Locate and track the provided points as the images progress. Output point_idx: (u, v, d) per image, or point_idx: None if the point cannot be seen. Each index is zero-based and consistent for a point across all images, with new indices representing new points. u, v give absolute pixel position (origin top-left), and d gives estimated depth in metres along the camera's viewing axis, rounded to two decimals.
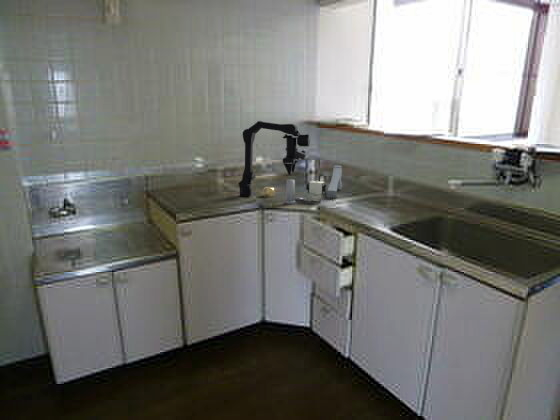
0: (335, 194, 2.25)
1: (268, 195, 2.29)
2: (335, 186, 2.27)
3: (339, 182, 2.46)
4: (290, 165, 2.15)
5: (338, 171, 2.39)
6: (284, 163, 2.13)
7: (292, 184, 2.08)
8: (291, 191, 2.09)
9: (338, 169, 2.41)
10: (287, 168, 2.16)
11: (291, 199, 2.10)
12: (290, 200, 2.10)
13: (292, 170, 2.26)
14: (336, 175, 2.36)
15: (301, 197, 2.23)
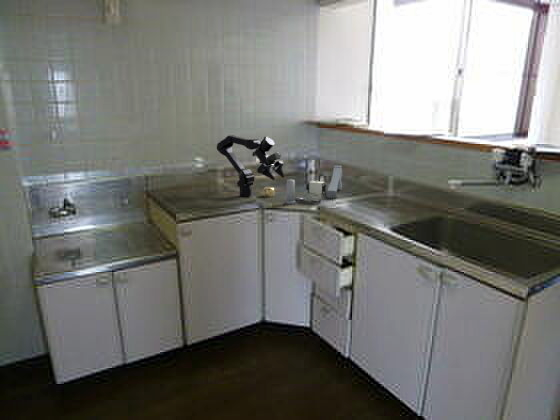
0: (335, 194, 2.25)
1: (268, 195, 2.29)
2: (335, 186, 2.27)
3: (339, 182, 2.46)
4: (267, 171, 2.10)
5: (338, 171, 2.39)
6: (261, 173, 2.11)
7: (292, 184, 2.08)
8: (291, 191, 2.09)
9: (338, 169, 2.40)
10: (268, 175, 2.11)
11: (291, 199, 2.10)
12: (290, 200, 2.10)
13: (282, 176, 2.18)
14: (336, 175, 2.36)
15: (301, 197, 2.23)
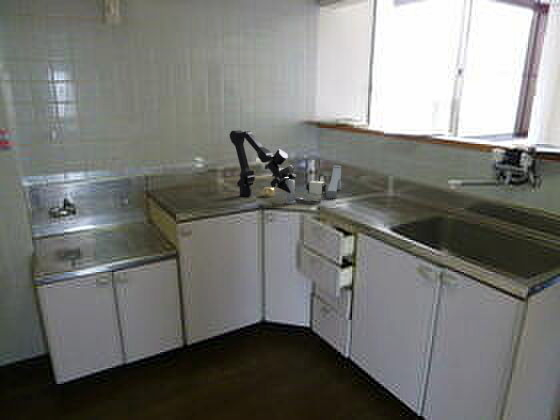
0: (334, 194, 2.24)
1: (268, 195, 2.29)
2: (335, 186, 2.27)
3: (339, 182, 2.46)
4: (283, 184, 2.08)
5: (338, 171, 2.39)
6: None
7: (292, 184, 2.08)
8: (291, 191, 2.09)
9: (338, 169, 2.40)
10: (283, 188, 2.09)
11: (291, 199, 2.10)
12: (290, 200, 2.10)
13: None
14: (336, 175, 2.36)
15: (301, 197, 2.23)
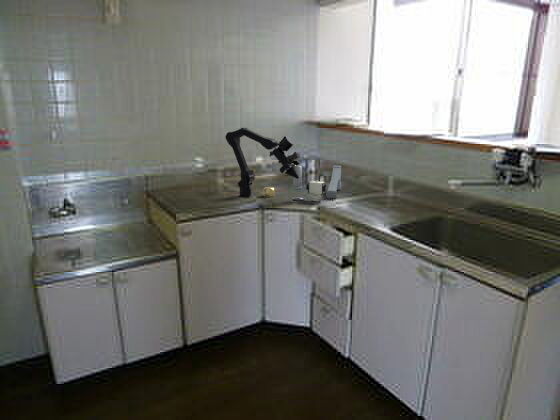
0: (334, 194, 2.24)
1: (268, 195, 2.29)
2: (335, 186, 2.27)
3: (339, 182, 2.46)
4: (291, 170, 2.12)
5: (338, 171, 2.39)
6: (285, 172, 2.12)
7: (300, 169, 2.13)
8: (299, 177, 2.14)
9: (338, 169, 2.40)
10: (291, 174, 2.13)
11: (299, 184, 2.15)
12: (298, 185, 2.15)
13: None
14: (336, 175, 2.36)
15: (301, 197, 2.23)
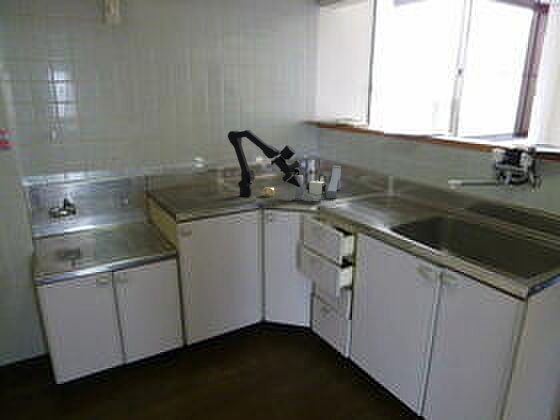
0: (334, 194, 2.24)
1: (268, 195, 2.29)
2: (335, 186, 2.27)
3: (338, 182, 2.46)
4: (293, 179, 2.15)
5: (337, 171, 2.39)
6: (287, 181, 2.14)
7: (301, 179, 2.17)
8: (301, 186, 2.18)
9: (337, 169, 2.40)
10: (293, 183, 2.16)
11: (301, 194, 2.19)
12: (300, 195, 2.19)
13: None
14: (335, 175, 2.36)
15: None
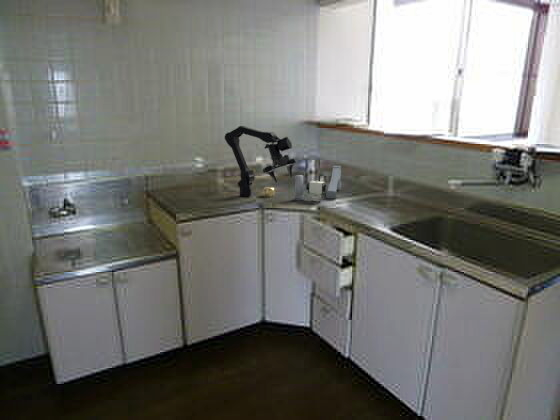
0: (334, 194, 2.24)
1: (268, 195, 2.29)
2: (335, 186, 2.26)
3: (338, 182, 2.45)
4: None
5: (337, 171, 2.38)
6: (266, 173, 2.18)
7: (301, 179, 2.17)
8: (301, 186, 2.18)
9: (337, 169, 2.40)
10: (272, 177, 2.18)
11: (301, 194, 2.19)
12: (300, 195, 2.19)
13: (290, 175, 2.21)
14: (335, 175, 2.35)
15: None
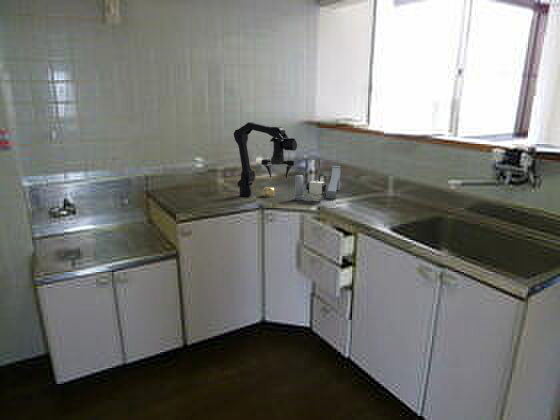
0: (334, 194, 2.23)
1: (268, 195, 2.29)
2: (334, 186, 2.26)
3: (338, 182, 2.45)
4: None
5: (337, 171, 2.38)
6: None
7: (301, 179, 2.17)
8: (301, 186, 2.18)
9: (337, 169, 2.40)
10: None
11: (301, 194, 2.19)
12: (300, 195, 2.19)
13: (286, 175, 2.17)
14: (335, 175, 2.35)
15: None
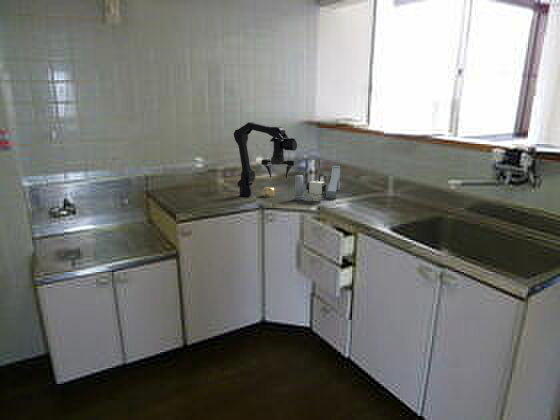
0: (334, 194, 2.23)
1: (268, 195, 2.29)
2: (334, 186, 2.26)
3: (337, 182, 2.45)
4: None
5: (337, 171, 2.38)
6: None
7: (301, 179, 2.17)
8: (301, 186, 2.18)
9: (337, 169, 2.39)
10: None
11: (301, 194, 2.19)
12: (300, 195, 2.19)
13: (286, 175, 2.17)
14: (335, 175, 2.35)
15: None
